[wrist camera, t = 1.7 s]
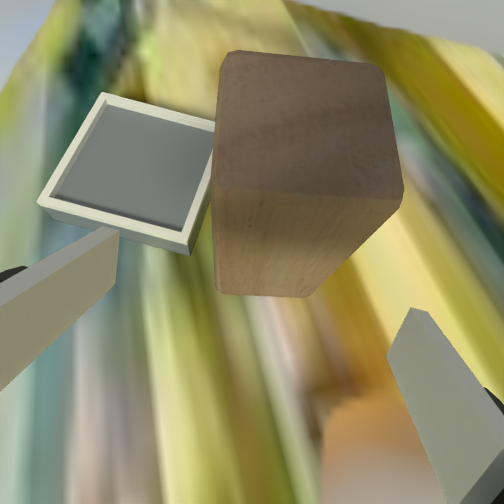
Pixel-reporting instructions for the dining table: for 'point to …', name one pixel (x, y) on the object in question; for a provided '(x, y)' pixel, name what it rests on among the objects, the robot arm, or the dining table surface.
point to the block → (297, 170)
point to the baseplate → (135, 174)
